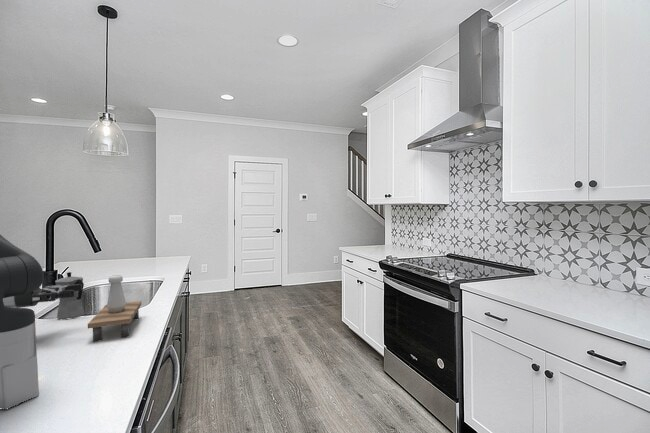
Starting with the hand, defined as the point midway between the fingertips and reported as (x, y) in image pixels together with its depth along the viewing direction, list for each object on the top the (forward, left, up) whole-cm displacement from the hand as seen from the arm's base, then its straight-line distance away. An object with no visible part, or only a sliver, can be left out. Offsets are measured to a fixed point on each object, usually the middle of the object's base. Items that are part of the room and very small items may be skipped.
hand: (78, 290), depth 113 cm
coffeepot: (+23, -10, -16) cm, 30 cm away
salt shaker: (-8, -8, -9) cm, 15 cm away
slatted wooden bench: (-8, -8, -16) cm, 19 cm away
